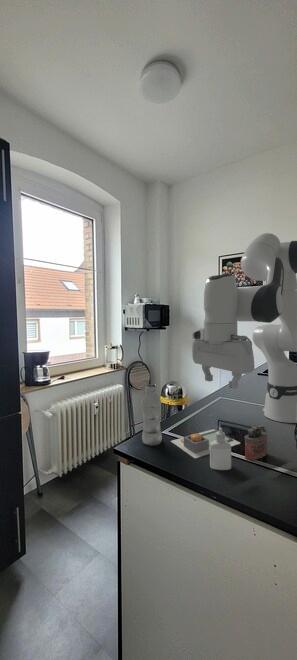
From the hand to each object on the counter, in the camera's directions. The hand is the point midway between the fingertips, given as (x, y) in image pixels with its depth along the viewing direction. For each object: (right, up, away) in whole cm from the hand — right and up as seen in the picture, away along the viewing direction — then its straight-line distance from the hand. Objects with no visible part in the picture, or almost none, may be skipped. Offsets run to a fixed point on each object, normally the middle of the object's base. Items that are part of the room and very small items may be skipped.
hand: (220, 384), depth 74 cm
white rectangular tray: (-1, -24, +16) cm, 28 cm away
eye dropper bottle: (0, -24, +1) cm, 25 cm away
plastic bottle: (-19, -24, +17) cm, 35 cm away
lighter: (+12, -24, +6) cm, 28 cm away
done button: (-5, -21, +12) cm, 24 cm away
